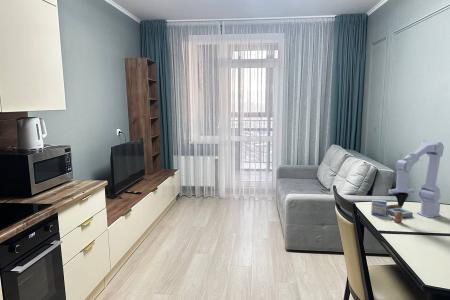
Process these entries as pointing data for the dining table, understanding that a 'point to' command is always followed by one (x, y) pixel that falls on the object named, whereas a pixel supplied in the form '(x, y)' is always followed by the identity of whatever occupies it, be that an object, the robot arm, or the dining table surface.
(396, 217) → the brown rounded peg
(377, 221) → the dining table surface
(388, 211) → the socket block
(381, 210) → the medicine box
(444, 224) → the dining table surface
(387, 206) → the walnut wall
